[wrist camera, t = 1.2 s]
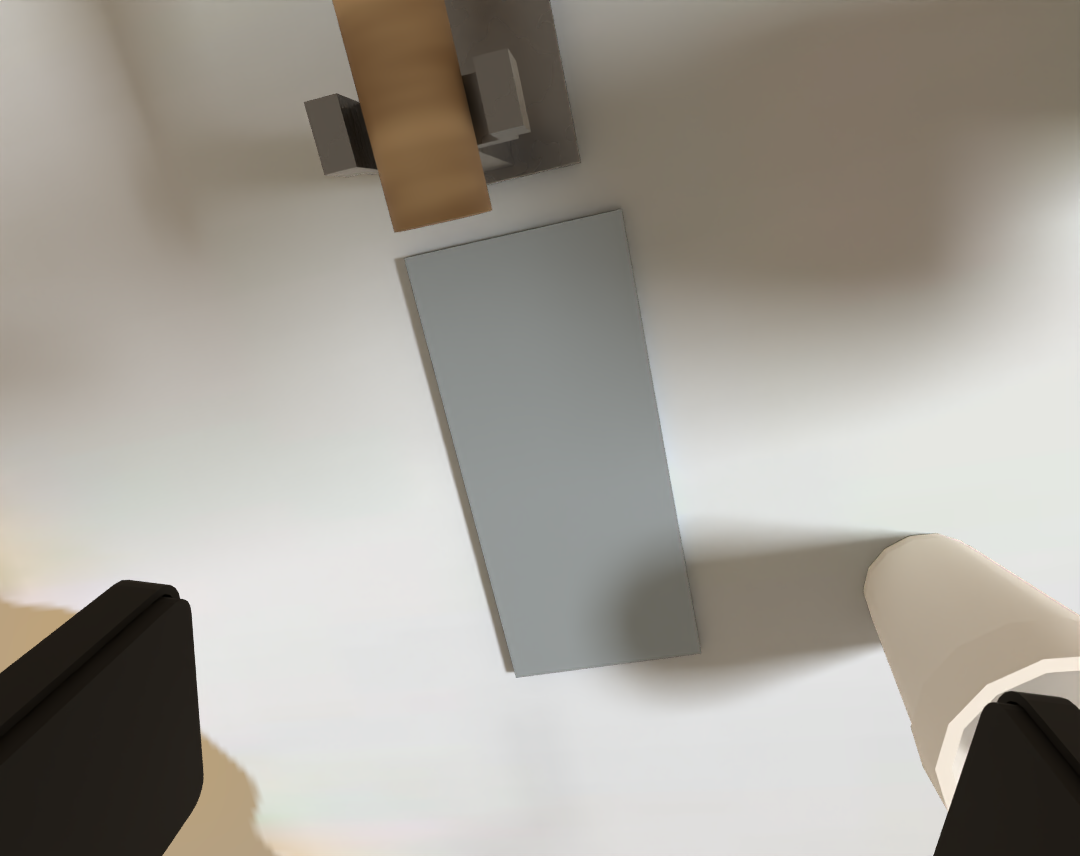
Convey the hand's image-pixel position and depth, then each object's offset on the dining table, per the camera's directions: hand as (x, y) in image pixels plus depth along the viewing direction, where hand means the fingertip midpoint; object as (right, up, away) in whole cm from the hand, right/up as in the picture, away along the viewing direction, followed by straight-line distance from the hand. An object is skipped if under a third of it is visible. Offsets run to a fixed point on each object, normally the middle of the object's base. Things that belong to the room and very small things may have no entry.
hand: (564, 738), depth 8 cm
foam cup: (+21, -5, +31) cm, 38 cm away
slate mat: (+1, +2, +30) cm, 31 cm away
